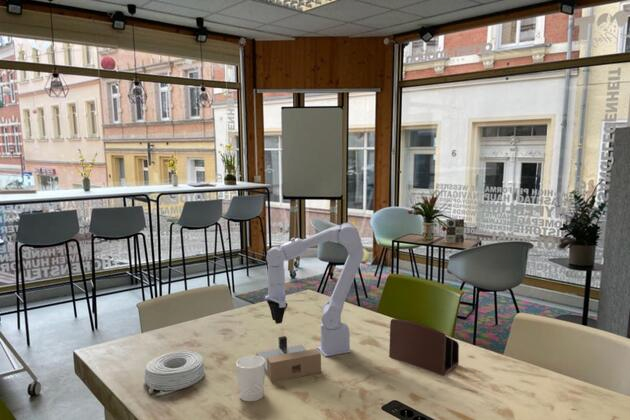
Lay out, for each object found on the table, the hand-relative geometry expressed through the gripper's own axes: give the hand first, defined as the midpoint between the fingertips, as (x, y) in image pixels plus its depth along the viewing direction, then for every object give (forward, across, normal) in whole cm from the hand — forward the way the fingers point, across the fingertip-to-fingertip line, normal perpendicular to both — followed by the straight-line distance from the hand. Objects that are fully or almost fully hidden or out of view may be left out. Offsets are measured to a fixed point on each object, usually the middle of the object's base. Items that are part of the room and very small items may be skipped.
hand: (277, 321), depth 154 cm
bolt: (+9, +10, 0) cm, 13 cm away
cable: (+11, +7, -34) cm, 37 cm away
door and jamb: (+10, +11, 0) cm, 15 cm away
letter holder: (+11, +25, +41) cm, 50 cm away
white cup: (+11, +25, -15) cm, 31 cm away
